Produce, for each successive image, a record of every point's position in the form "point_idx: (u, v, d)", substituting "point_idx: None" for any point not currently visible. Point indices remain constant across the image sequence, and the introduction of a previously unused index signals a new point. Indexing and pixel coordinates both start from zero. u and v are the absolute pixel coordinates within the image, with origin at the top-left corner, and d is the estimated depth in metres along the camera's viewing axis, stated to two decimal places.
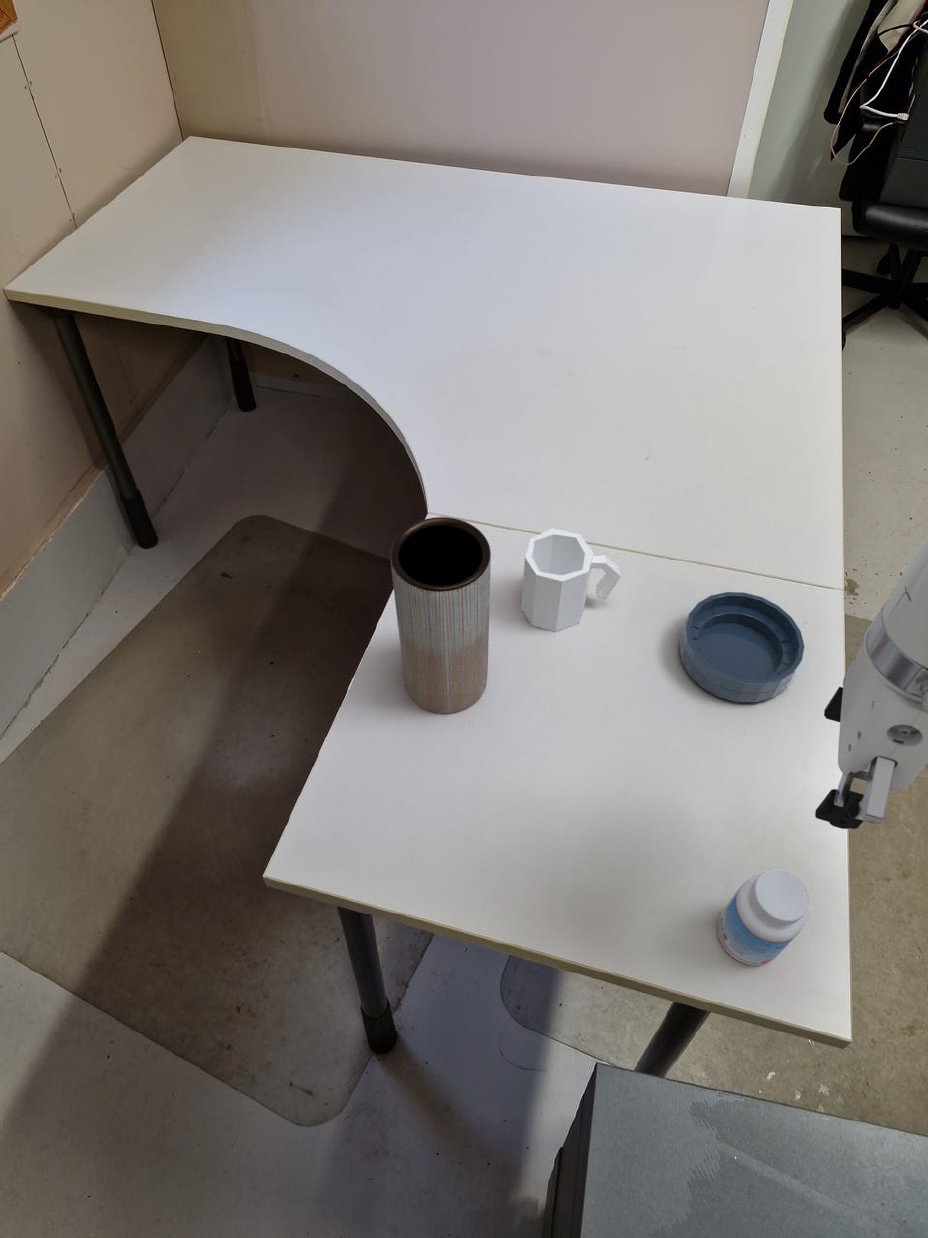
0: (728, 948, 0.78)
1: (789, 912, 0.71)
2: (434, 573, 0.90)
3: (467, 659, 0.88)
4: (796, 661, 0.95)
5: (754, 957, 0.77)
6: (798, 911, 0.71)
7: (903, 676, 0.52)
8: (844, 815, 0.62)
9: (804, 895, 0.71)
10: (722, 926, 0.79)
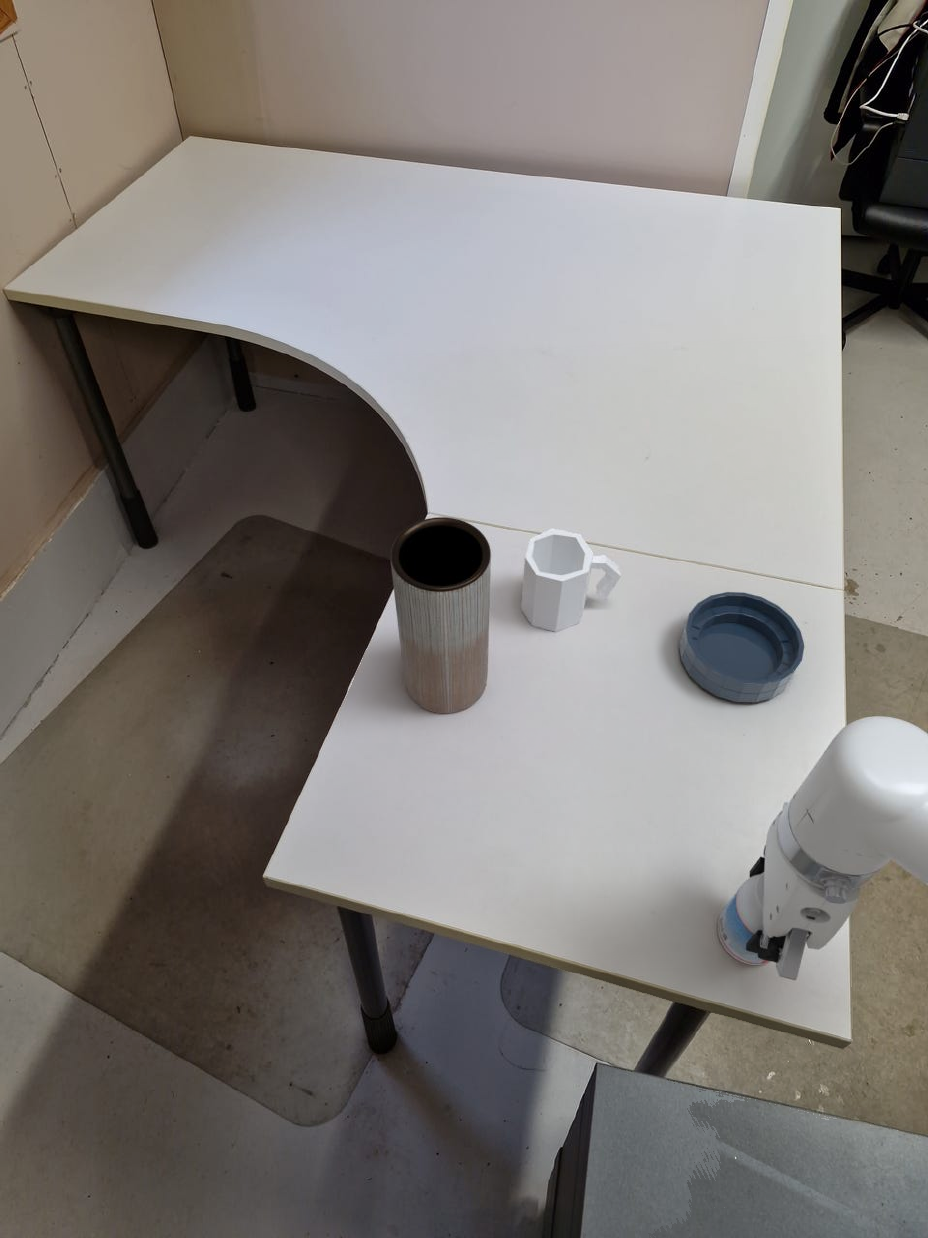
0: (728, 948, 0.78)
1: None
2: (434, 573, 0.90)
3: (467, 659, 0.88)
4: (796, 661, 0.95)
5: (754, 957, 0.77)
6: None
7: (809, 870, 0.60)
8: (769, 952, 0.71)
9: None
10: (722, 926, 0.79)
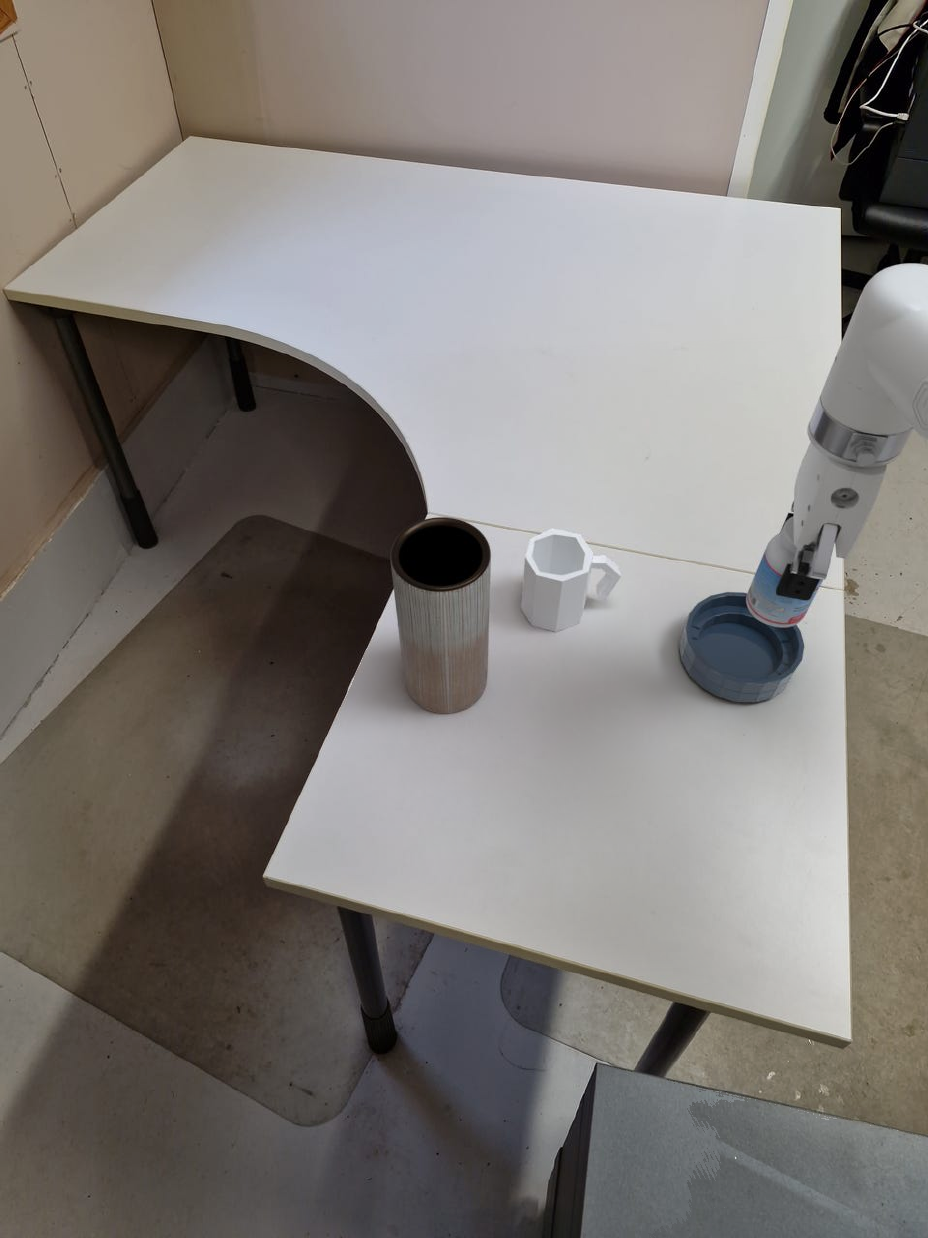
0: (756, 612, 0.84)
1: None
2: (434, 573, 0.90)
3: (467, 659, 0.88)
4: (796, 661, 0.95)
5: (782, 613, 0.82)
6: None
7: (840, 444, 0.65)
8: (799, 584, 0.76)
9: None
10: (751, 592, 0.84)
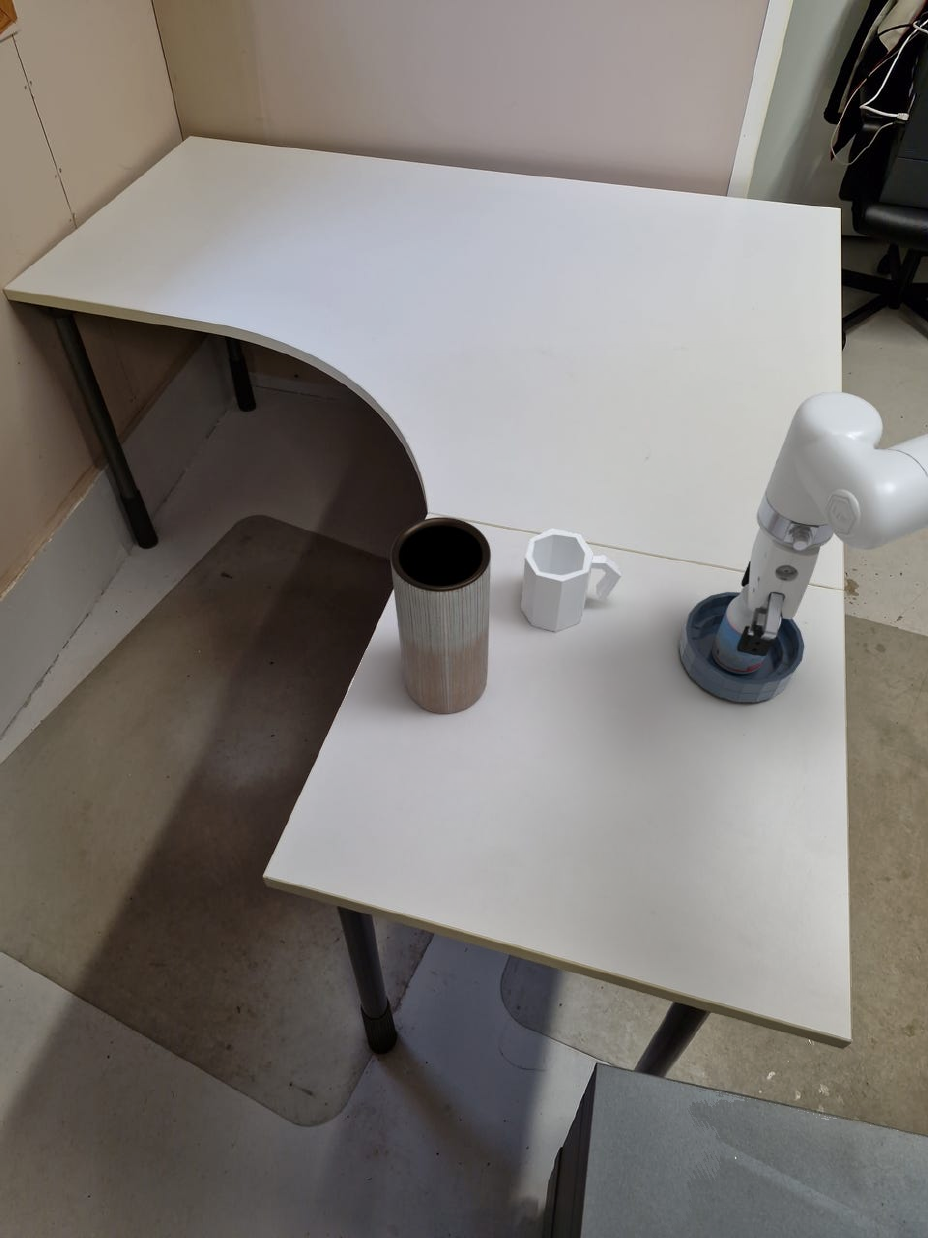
0: (720, 661, 0.98)
1: None
2: (434, 573, 0.90)
3: (467, 659, 0.88)
4: (796, 661, 0.95)
5: (741, 663, 0.96)
6: None
7: (781, 530, 0.79)
8: (755, 643, 0.89)
9: None
10: (715, 644, 0.98)
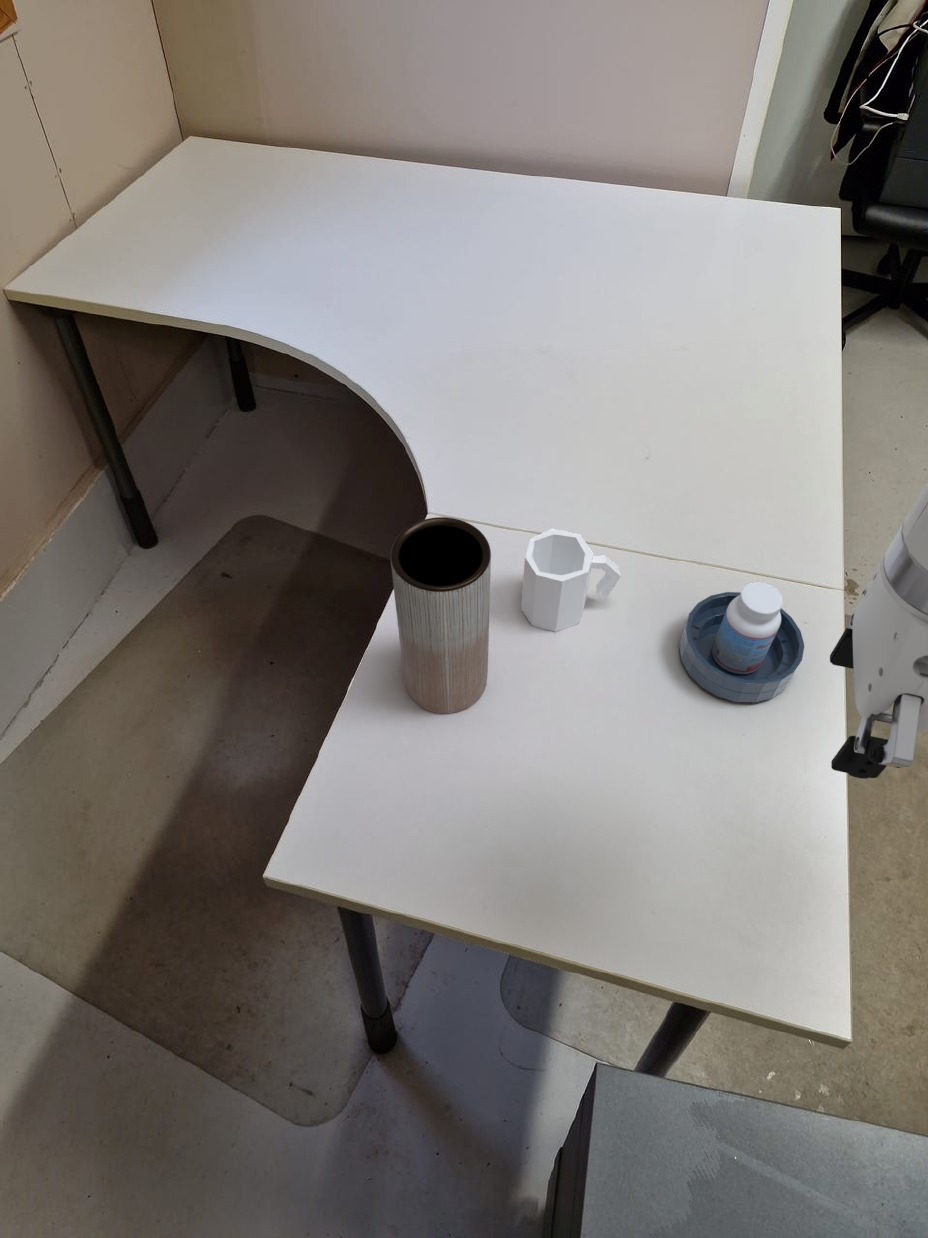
0: (720, 661, 0.98)
1: (767, 608, 0.90)
2: (434, 573, 0.90)
3: (467, 659, 0.88)
4: (796, 661, 0.95)
5: (741, 663, 0.96)
6: (774, 607, 0.90)
7: None
8: (865, 763, 0.57)
9: (779, 597, 0.91)
10: (715, 644, 0.98)
